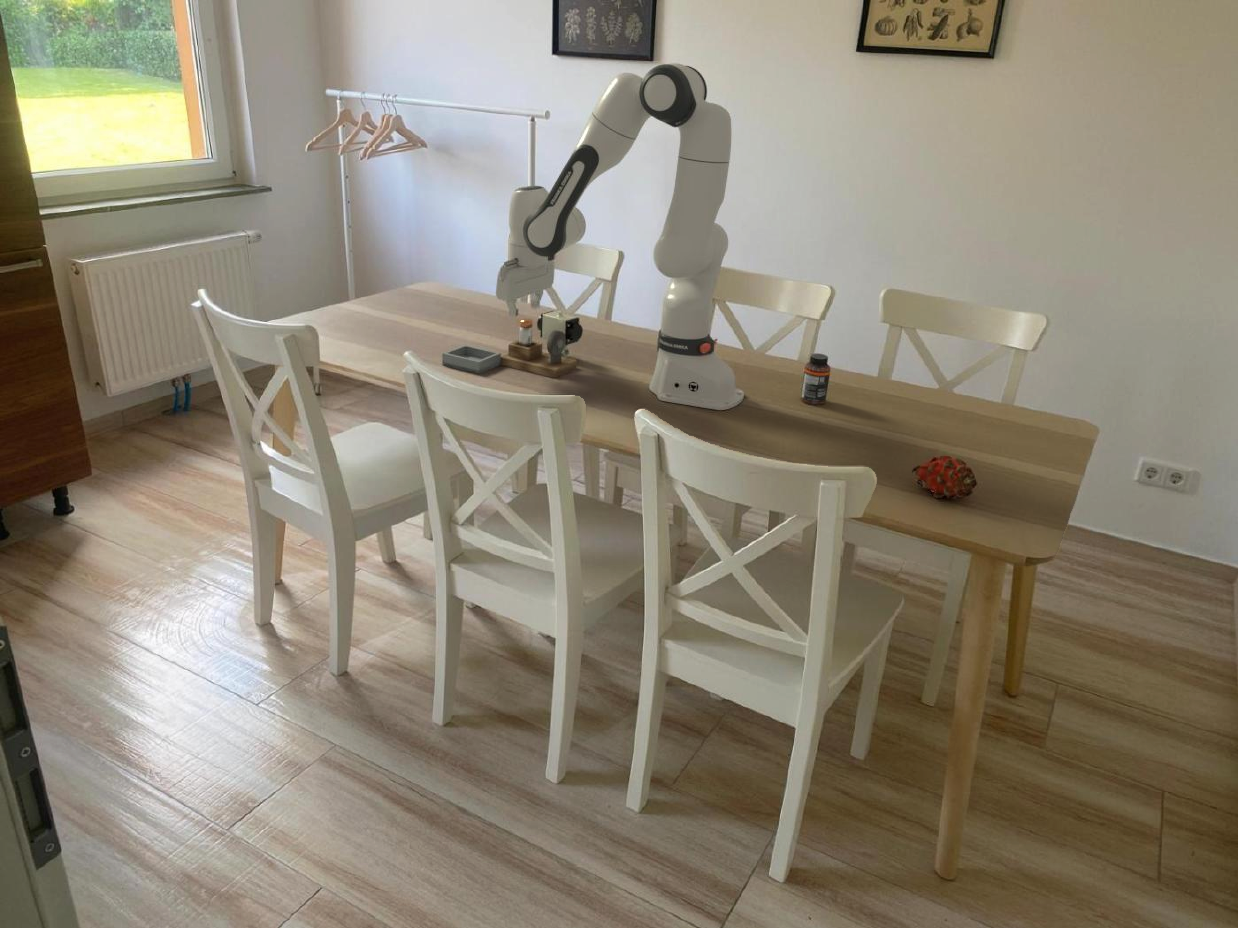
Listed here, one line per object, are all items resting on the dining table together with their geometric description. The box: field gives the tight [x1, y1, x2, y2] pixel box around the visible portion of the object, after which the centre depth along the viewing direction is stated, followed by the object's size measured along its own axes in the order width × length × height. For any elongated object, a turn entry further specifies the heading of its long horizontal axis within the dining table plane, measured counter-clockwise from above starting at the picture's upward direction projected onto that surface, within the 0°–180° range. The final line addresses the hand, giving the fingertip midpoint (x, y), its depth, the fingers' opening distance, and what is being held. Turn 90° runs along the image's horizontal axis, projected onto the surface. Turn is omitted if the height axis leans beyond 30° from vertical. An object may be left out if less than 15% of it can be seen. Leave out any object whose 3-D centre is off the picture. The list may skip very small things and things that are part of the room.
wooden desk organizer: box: [500, 330, 578, 379], centre depth 223 cm, size 16×10×10 cm, turn 62°
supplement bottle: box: [800, 353, 831, 406], centre depth 212 cm, size 6×6×11 cm
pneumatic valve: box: [536, 310, 583, 358], centre depth 231 cm, size 6×12×12 cm, turn 53°
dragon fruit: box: [911, 454, 978, 500], centre depth 170 cm, size 8×8×12 cm
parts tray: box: [441, 344, 502, 375], centre depth 223 cm, size 11×9×3 cm
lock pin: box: [518, 318, 533, 347], centre depth 224 cm, size 3×3×9 cm
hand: (524, 311), depth 222 cm, fingers open, 8 cm apart
